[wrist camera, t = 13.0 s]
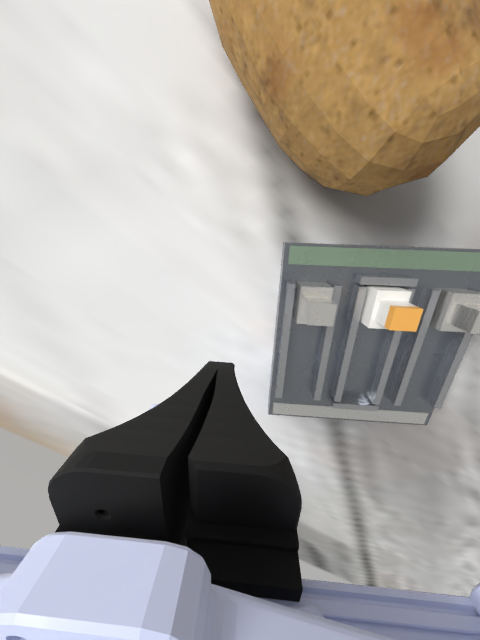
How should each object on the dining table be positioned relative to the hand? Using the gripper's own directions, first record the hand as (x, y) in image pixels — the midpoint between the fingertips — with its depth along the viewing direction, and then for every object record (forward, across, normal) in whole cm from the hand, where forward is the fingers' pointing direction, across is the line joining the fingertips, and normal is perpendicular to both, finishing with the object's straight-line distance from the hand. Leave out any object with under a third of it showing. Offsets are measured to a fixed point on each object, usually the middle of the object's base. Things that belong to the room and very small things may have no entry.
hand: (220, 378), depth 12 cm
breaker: (+9, -12, -2) cm, 15 cm away
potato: (+10, -5, -16) cm, 20 cm away
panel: (+10, -12, +2) cm, 15 cm away
